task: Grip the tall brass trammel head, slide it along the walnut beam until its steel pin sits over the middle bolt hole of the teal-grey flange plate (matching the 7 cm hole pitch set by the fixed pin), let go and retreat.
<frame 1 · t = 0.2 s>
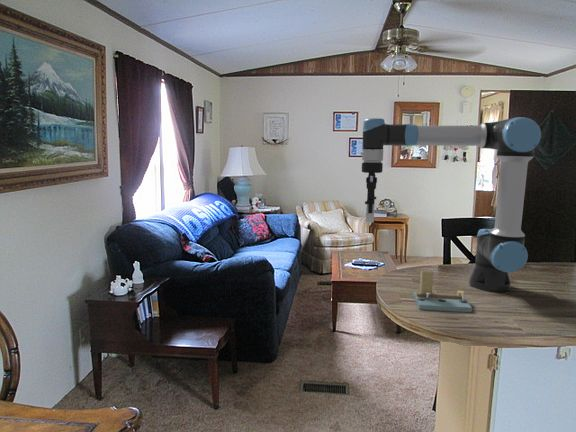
hand: (370, 219, 170), 27 cm above the counter, fingers open, 13 cm apart
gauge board: (441, 303, 160), on the counter
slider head: (426, 284, 161), point 6 cm above the counter, slide at 5.0 cm
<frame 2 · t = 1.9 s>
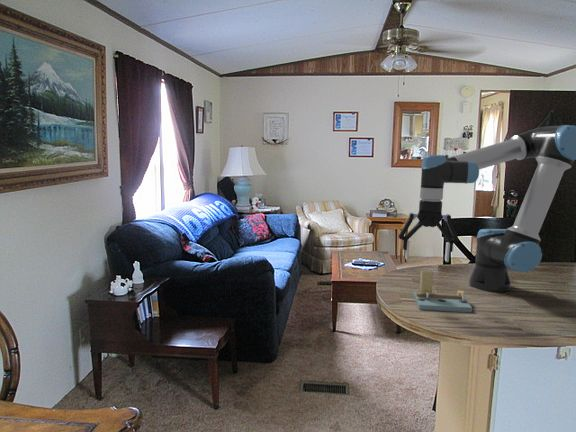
hand: (426, 260, 161), 15 cm above the counter, fingers open, 13 cm apart
nothing on the counter moved.
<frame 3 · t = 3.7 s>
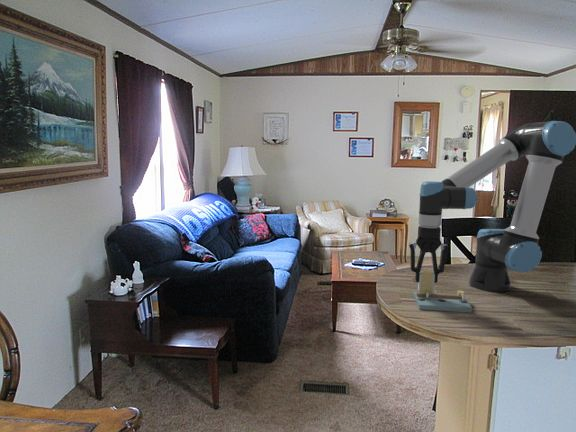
hand: (425, 290, 162), 4 cm above the counter, fingers closed on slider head, 4 cm apart
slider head: (426, 284, 161), point 6 cm above the counter, slide at 5.0 cm, touching gripper
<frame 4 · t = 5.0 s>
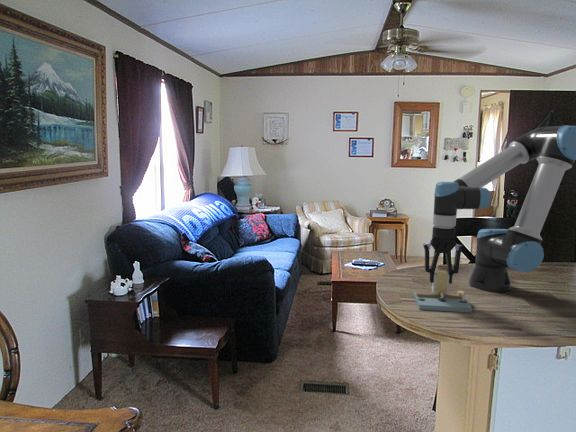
hand: (439, 291, 162), 4 cm above the counter, fingers closed on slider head, 4 cm apart
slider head: (441, 285, 160), point 6 cm above the counter, slide at 0.1 cm, touching gripper
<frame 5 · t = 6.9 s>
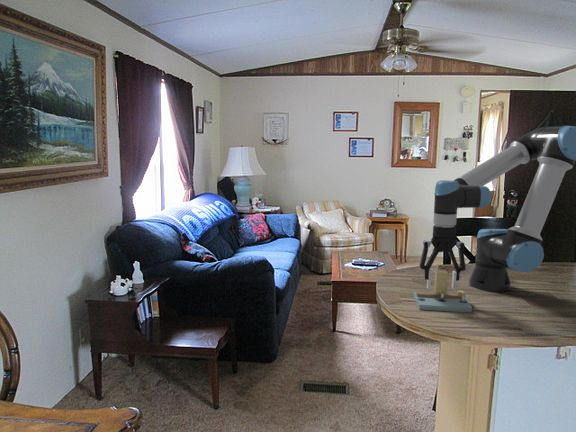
hand: (441, 288, 162), 5 cm above the counter, fingers open, 8 cm apart
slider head: (441, 285, 160), point 6 cm above the counter, slide at 0.0 cm
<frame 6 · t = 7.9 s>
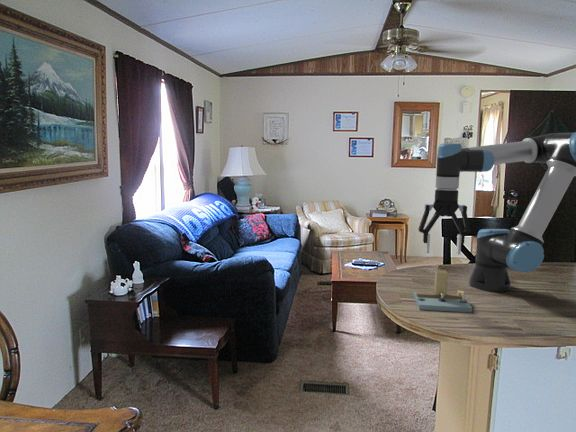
hand: (442, 252, 160), 18 cm above the counter, fingers open, 10 cm apart
nothing on the counter moved.
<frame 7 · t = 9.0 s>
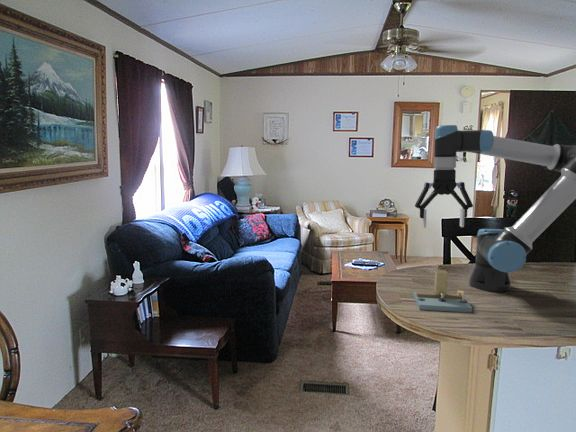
hand: (442, 226, 168), 25 cm above the counter, fingers open, 13 cm apart
nothing on the counter moved.
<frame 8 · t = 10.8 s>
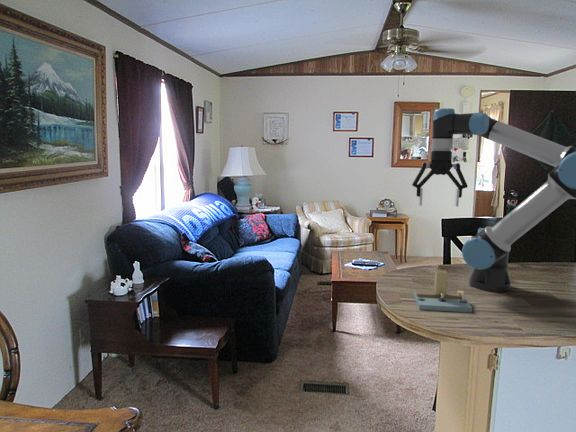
hand: (438, 205, 177), 32 cm above the counter, fingers open, 13 cm apart
nothing on the counter moved.
at the end: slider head slide at 0.0 cm; the gripper is holding nothing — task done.
